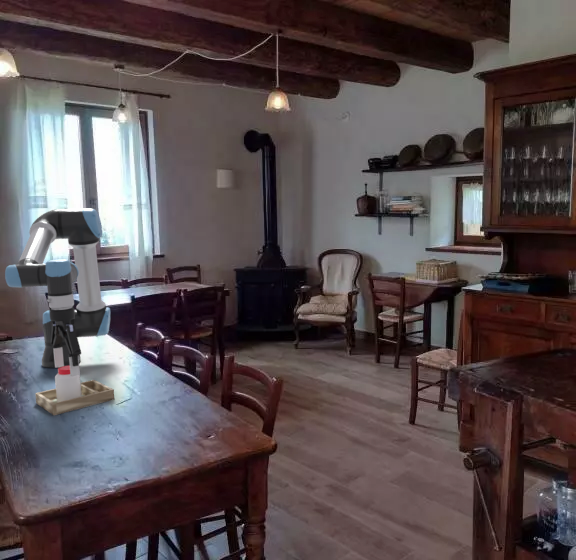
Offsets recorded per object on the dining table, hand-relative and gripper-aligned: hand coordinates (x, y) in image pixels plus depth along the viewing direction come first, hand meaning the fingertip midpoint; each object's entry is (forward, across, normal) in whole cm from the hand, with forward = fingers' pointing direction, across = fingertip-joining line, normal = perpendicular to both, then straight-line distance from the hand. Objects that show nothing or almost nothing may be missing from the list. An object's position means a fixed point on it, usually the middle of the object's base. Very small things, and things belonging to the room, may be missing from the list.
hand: (67, 371), depth 186 cm
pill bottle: (+10, 0, 0) cm, 10 cm away
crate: (+11, +1, +2) cm, 11 cm away
